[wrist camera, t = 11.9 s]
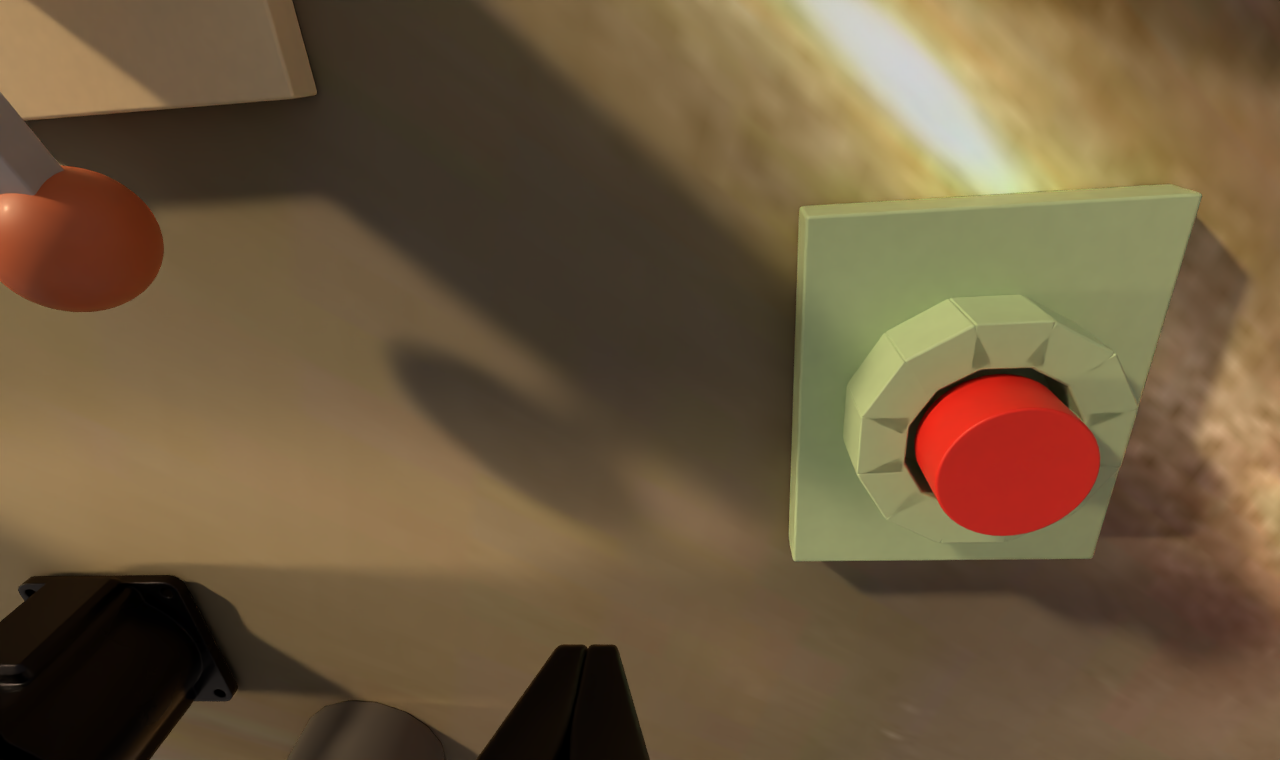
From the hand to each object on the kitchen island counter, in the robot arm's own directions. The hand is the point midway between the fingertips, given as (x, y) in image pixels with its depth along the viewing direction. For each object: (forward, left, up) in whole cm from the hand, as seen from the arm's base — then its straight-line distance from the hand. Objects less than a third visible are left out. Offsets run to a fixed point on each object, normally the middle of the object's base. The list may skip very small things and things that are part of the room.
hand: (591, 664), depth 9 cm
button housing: (-2, -9, -11) cm, 14 cm away
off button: (-2, -9, -8) cm, 12 cm away
